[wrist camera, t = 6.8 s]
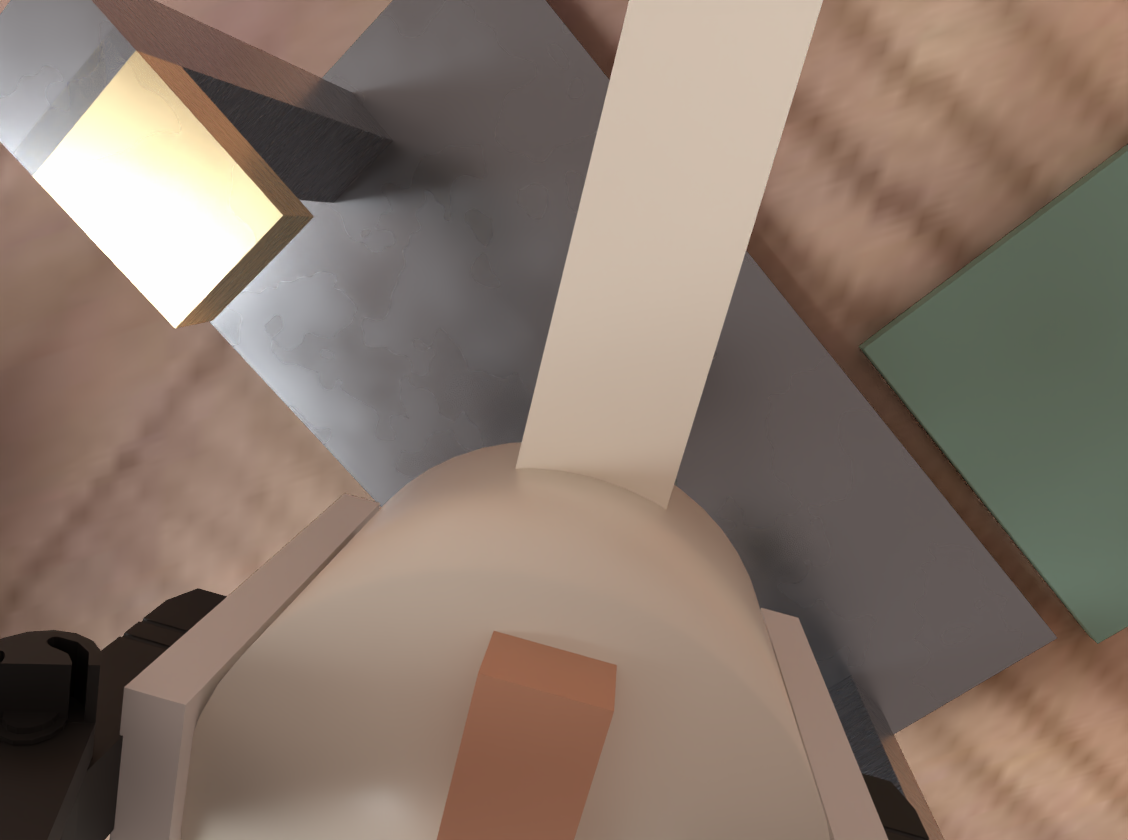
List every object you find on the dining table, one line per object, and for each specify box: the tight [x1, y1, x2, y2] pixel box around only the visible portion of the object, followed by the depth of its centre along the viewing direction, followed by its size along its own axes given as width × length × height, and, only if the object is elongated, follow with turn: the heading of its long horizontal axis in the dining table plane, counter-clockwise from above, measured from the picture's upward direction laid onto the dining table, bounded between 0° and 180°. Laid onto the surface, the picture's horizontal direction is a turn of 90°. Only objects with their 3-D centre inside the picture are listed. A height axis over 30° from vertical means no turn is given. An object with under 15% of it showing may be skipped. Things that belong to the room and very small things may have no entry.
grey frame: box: [0, 0, 1057, 840], centre depth 21 cm, size 31×16×14 cm, turn 41°
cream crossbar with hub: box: [181, 0, 830, 840], centre depth 11 cm, size 22×8×6 cm, turn 166°
